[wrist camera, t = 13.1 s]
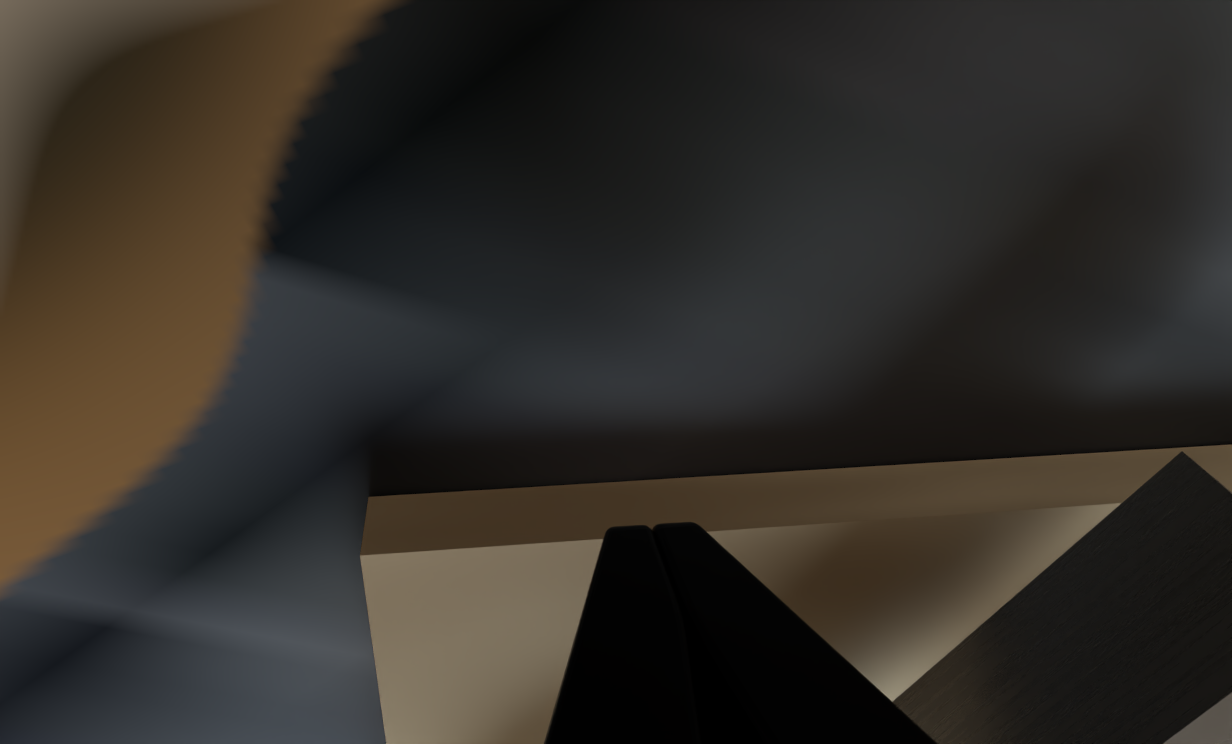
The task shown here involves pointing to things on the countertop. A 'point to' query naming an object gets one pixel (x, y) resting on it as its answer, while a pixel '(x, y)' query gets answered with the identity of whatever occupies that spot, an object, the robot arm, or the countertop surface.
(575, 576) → the tool board
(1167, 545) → the crank handle
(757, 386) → the countertop surface
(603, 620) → the robot arm
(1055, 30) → the countertop surface
